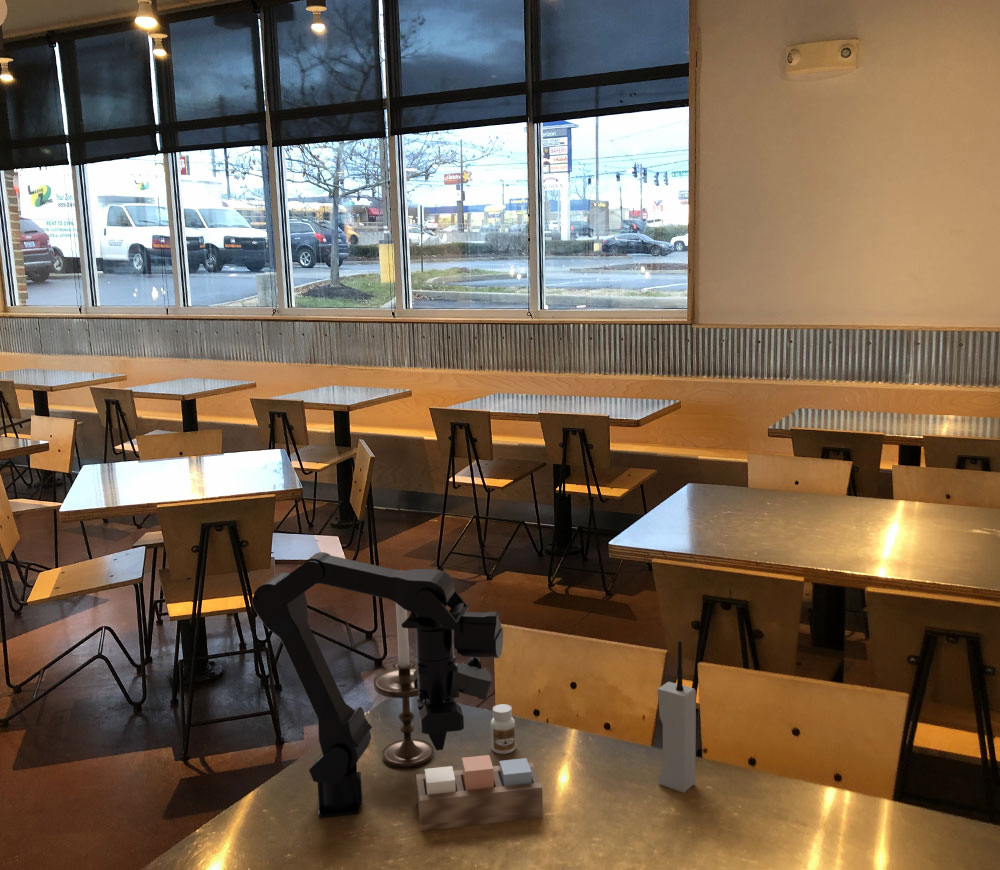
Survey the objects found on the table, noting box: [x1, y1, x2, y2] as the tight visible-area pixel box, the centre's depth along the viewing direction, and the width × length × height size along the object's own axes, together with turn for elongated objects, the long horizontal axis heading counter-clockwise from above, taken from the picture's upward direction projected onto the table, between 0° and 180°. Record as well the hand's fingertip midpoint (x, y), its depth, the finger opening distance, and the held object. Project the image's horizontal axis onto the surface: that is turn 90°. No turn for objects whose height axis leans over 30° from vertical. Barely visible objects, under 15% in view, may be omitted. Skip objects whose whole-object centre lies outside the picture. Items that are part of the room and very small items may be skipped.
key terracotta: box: [461, 754, 494, 791], centre depth 148 cm, size 4×4×4 cm
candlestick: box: [373, 566, 435, 770], centre depth 164 cm, size 11×11×35 cm
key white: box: [424, 765, 456, 795], centre depth 147 cm, size 4×4×4 cm
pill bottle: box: [490, 703, 517, 755], centre depth 168 cm, size 4×4×8 cm
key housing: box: [415, 761, 544, 832], centre depth 148 cm, size 19×8×5 cm, turn 99°
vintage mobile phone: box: [657, 640, 697, 794], centre depth 153 cm, size 4×5×25 cm
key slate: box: [499, 757, 532, 787], centre depth 149 cm, size 4×4×4 cm
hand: (439, 749), depth 146 cm, fingers closed
